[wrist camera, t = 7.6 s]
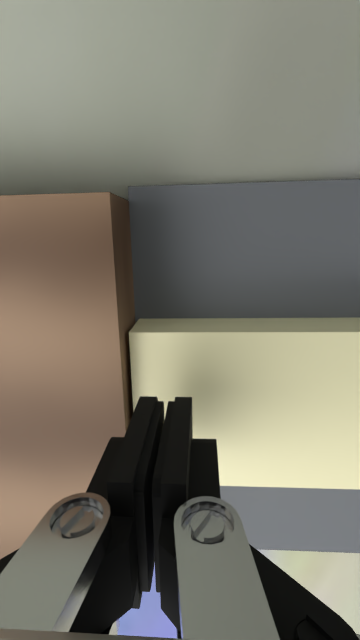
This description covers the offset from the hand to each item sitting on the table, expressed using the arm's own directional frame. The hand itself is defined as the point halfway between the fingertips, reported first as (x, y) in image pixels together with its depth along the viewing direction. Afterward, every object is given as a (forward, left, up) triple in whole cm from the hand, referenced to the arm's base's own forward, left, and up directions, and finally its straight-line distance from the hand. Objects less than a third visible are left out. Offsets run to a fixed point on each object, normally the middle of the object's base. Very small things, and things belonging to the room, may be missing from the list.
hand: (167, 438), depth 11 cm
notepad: (0, +3, -4) cm, 5 cm away
